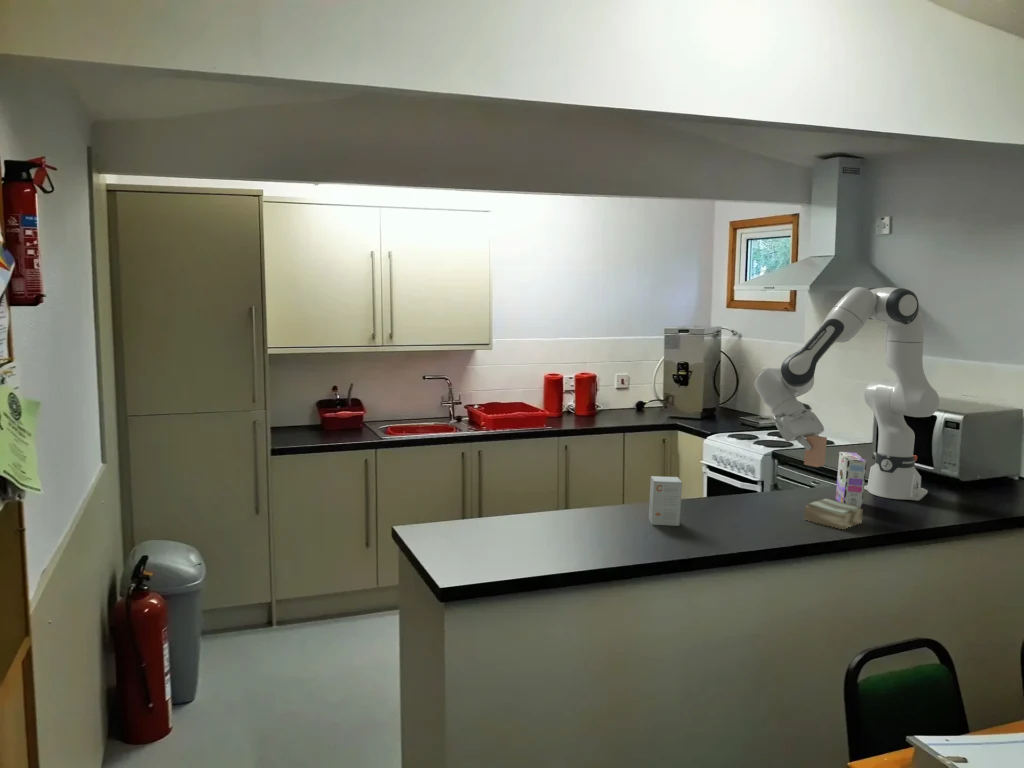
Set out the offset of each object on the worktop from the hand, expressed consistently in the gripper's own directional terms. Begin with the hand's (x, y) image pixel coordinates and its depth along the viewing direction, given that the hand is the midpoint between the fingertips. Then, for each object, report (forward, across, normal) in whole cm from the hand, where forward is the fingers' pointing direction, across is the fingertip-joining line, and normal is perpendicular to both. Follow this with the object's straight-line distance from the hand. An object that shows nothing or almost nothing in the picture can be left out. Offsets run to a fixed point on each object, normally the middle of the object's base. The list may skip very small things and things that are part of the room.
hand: (815, 448), depth 254 cm
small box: (+2, -53, +26) cm, 59 cm away
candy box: (+18, +13, +10) cm, 24 cm away
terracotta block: (+4, 0, +4) cm, 5 cm away
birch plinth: (+22, -9, +5) cm, 24 cm away
